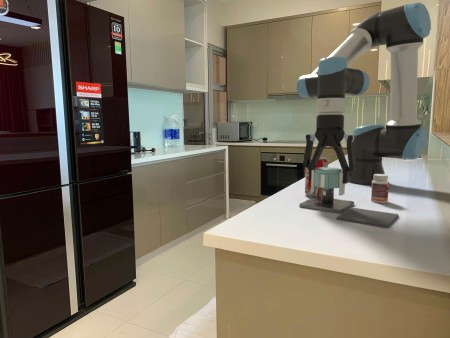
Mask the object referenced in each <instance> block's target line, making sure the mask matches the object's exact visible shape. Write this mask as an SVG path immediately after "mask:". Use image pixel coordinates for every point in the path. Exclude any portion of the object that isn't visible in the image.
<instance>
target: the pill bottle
mask: <svg viewBox="0 0 450 338" xmlns="http://www.w3.org/2000/svg"><path fill="white" fill-rule="evenodd" d="M373 179H374V180H373V181H372V184H371V191H370V192H371V194H370V195H371V197H370V201H371V202H372V203H377V204H378V203H379V204H385V203H388V202H389V189H390V188H389V187H390V185H389V181H388V180H389V175H388V174H374V177H373Z"/></svg>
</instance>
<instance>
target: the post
mask: <svg viewBox="0 0 450 338" xmlns="http://www.w3.org/2000/svg"><path fill="white" fill-rule="evenodd" d="M298 206H299V208H303V209H304V208H305V209H310V210H316V211H322V212H323V211H324V212H328V213H335V214H339V215H341V214H342V213H344V212H345V211H347V210H348V209H350V208H351V207H353V206H355V201H354V200H345V199H339V198H338V199H337V198H335V188H321V197H317V196H315V197H310V198H309V199H307V200H305V201H303V202H299V205H298Z"/></svg>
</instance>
